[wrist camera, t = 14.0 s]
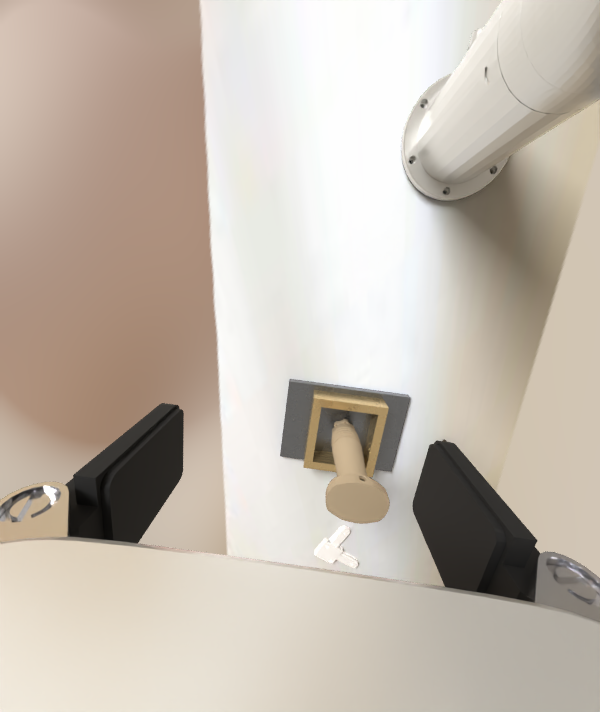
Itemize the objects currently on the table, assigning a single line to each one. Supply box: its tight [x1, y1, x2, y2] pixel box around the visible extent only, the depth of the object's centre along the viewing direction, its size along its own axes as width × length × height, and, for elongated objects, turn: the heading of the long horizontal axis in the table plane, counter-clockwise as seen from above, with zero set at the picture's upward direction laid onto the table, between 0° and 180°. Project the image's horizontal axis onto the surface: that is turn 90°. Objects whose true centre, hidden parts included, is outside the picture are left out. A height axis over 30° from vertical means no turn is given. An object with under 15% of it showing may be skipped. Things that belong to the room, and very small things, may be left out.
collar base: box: [280, 379, 410, 477], centre depth 42 cm, size 13×18×4 cm
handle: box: [326, 419, 390, 524], centre depth 35 cm, size 5×6×15 cm
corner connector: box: [314, 525, 358, 568], centre depth 50 cm, size 8×8×2 cm
